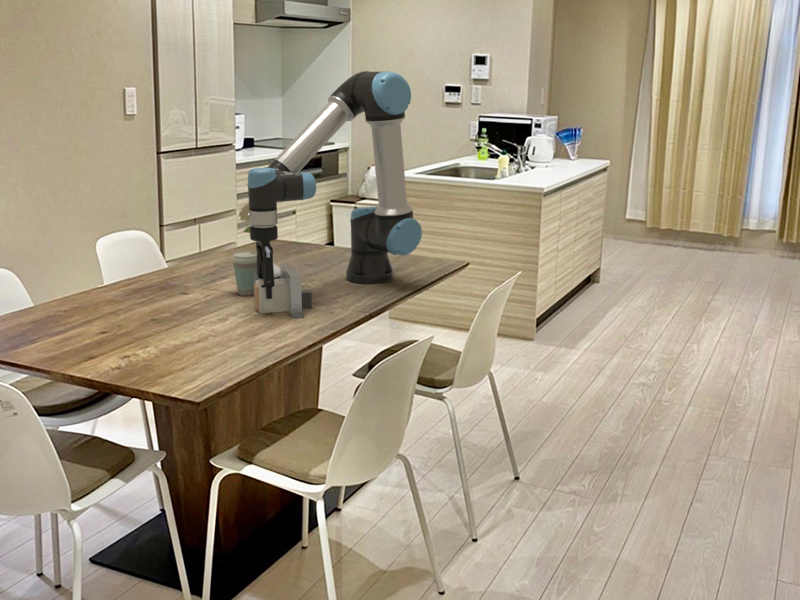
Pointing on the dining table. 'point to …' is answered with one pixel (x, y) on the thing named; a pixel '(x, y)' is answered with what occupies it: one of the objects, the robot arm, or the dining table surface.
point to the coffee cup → (245, 272)
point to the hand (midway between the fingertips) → (266, 305)
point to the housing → (293, 289)
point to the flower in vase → (243, 216)
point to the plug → (279, 296)
